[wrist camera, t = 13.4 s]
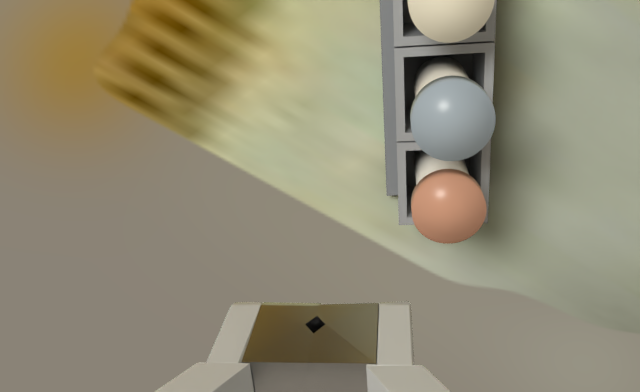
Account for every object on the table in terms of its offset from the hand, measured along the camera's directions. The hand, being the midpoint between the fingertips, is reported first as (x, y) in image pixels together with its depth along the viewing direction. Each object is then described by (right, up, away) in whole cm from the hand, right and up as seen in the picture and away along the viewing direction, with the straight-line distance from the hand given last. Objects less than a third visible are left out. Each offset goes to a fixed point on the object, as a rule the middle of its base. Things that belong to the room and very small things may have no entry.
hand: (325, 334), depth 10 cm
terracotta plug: (+8, +5, +29) cm, 31 cm away
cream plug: (+7, +15, +25) cm, 30 cm away
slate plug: (+7, +9, +26) cm, 28 cm away
